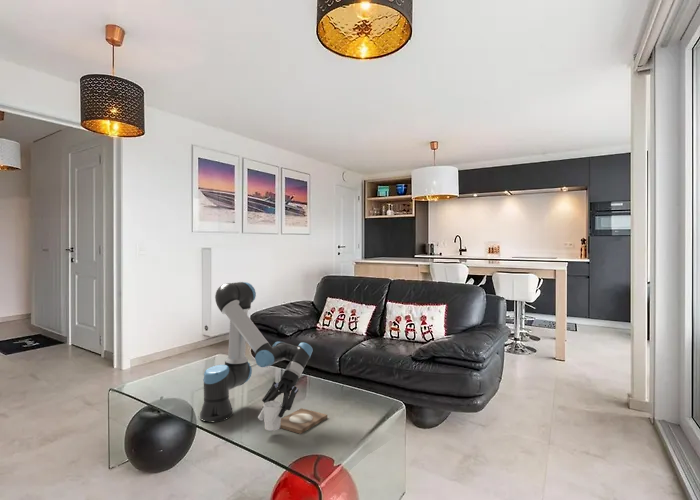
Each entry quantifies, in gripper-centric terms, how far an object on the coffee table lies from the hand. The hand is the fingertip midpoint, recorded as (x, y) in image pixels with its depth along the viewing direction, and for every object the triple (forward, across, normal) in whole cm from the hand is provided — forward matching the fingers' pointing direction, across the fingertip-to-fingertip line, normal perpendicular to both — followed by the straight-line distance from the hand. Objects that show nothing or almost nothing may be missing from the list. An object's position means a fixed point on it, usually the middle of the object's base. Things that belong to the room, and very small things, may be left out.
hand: (267, 421), depth 162 cm
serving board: (-10, -2, -19) cm, 22 cm away
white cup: (0, 0, -5) cm, 5 cm away
